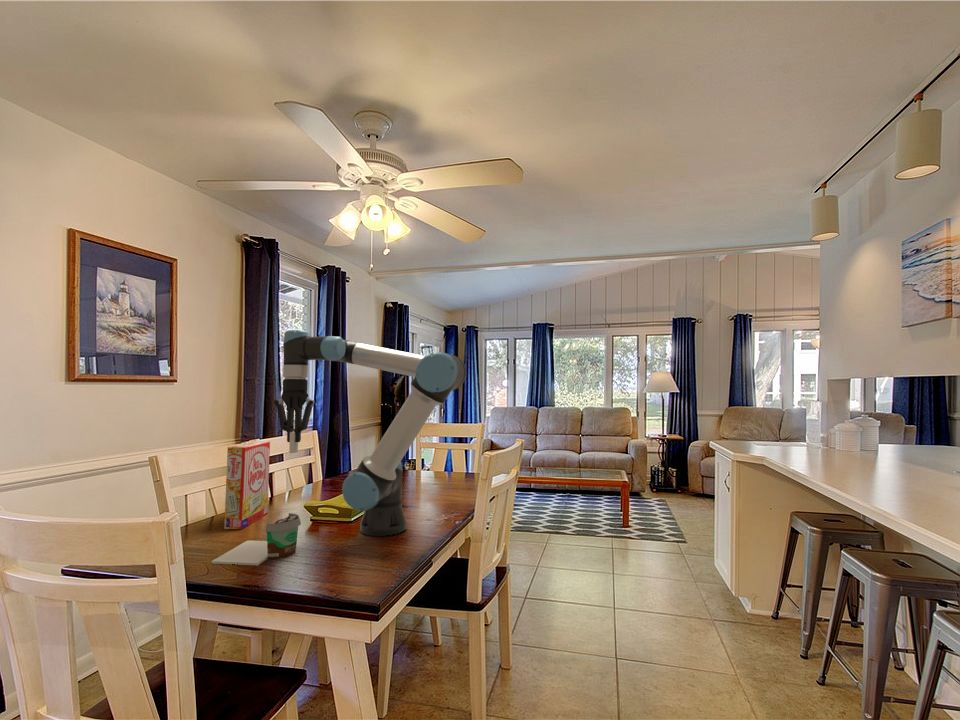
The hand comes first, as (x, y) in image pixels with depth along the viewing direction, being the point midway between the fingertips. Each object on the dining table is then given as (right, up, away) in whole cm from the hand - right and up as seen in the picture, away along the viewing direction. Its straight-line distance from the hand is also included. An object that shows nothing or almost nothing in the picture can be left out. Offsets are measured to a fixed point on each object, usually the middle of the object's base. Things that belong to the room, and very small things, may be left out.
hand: (293, 452), depth 159 cm
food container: (+5, -26, -17) cm, 32 cm away
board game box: (-22, -27, +16) cm, 38 cm away
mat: (-6, -26, -17) cm, 31 cm away
